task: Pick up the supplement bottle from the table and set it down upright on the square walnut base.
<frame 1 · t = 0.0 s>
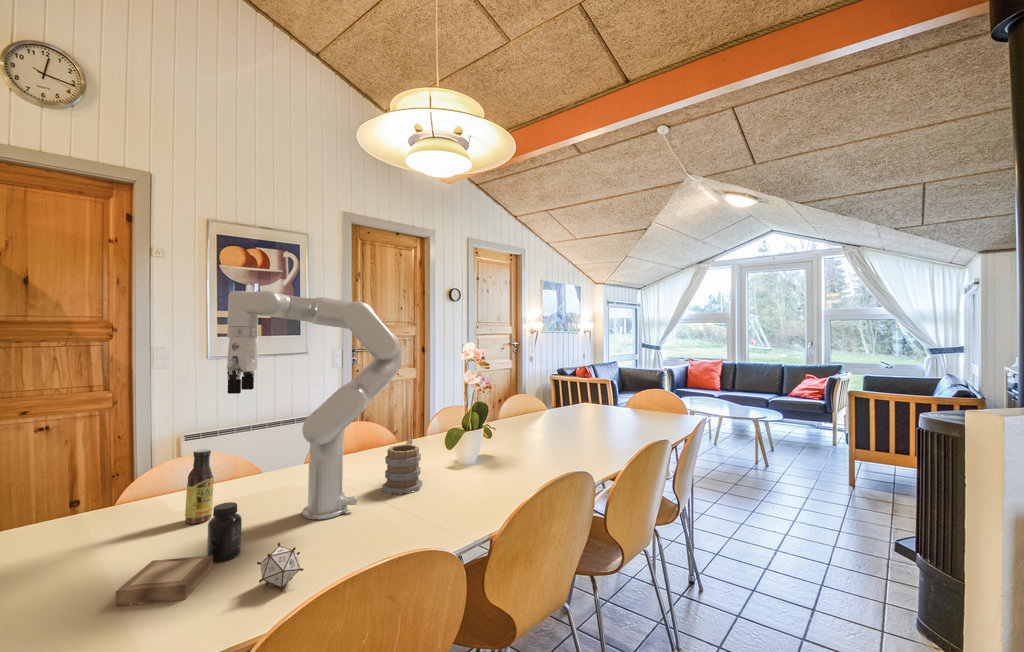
hand: (241, 391, 129), 37 cm above the table, tool pointing down, fingers open, 9 cm apart
tankard: (405, 485, 158), on the table
sauce bottle: (198, 521, 126), on the table
game die: (279, 586, 93), on the table
walnut base: (167, 586, 93), on the table
supplement bottle: (224, 556, 106), on the table
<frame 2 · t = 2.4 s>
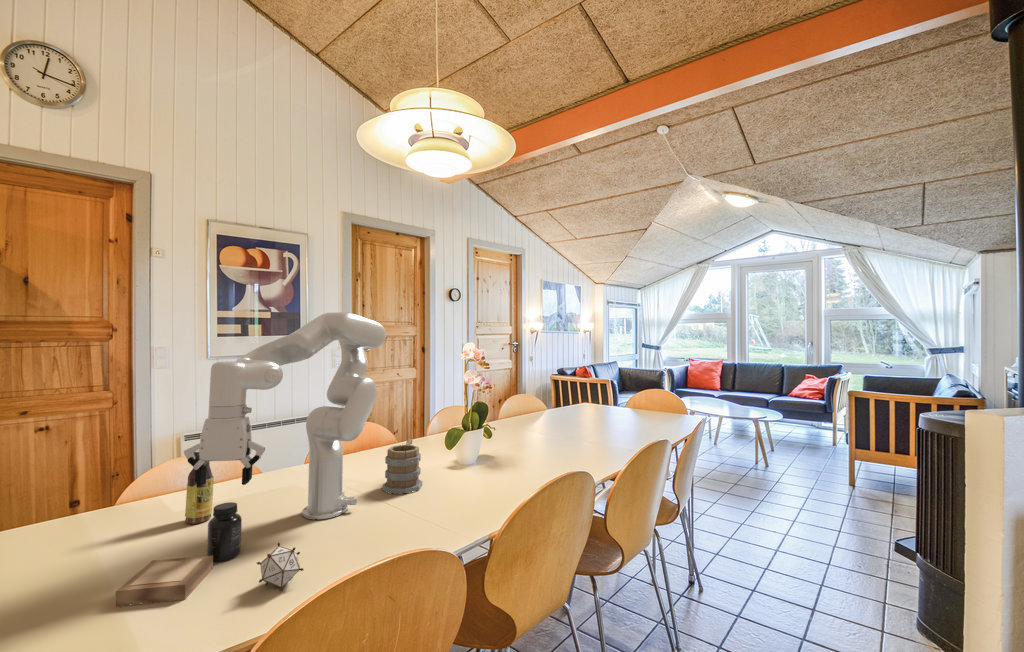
hand: (223, 484, 106), 17 cm above the table, tool pointing down, fingers open, 9 cm apart
nothing on the table moved.
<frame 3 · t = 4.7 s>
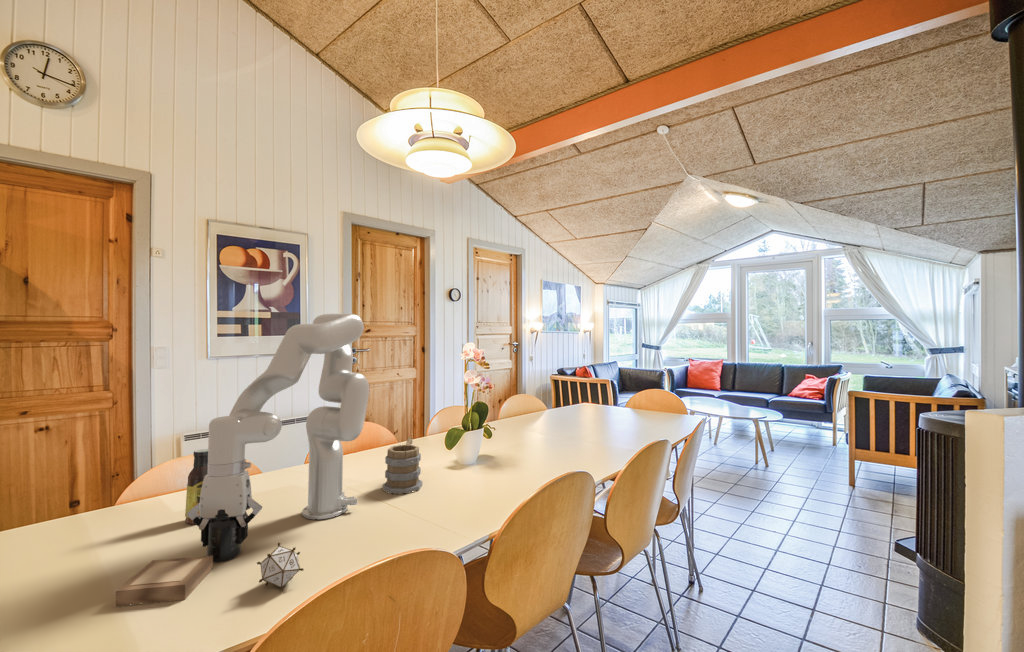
hand: (224, 542, 106), 3 cm above the table, tool pointing down, fingers closed on supplement bottle, 6 cm apart
supplement bottle: (224, 556, 106), on the table, touching gripper
everything else where it was.
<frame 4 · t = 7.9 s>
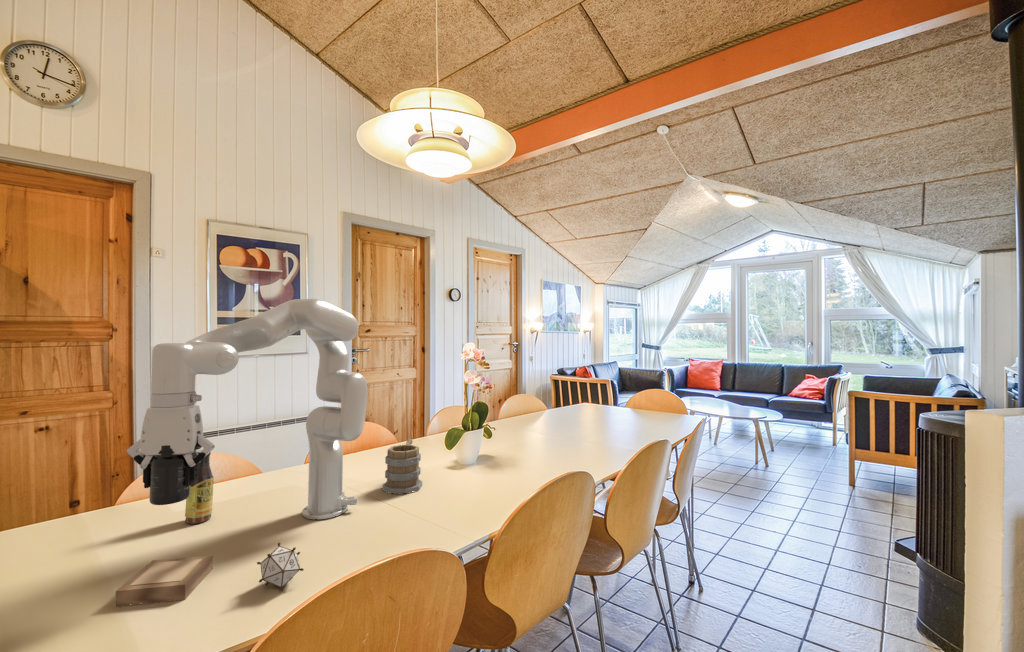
hand: (170, 484, 93), 21 cm above the table, tool pointing down, fingers closed on supplement bottle, 6 cm apart
supplement bottle: (170, 500, 93), point 18 cm above the table, touching gripper
everything else where it was.
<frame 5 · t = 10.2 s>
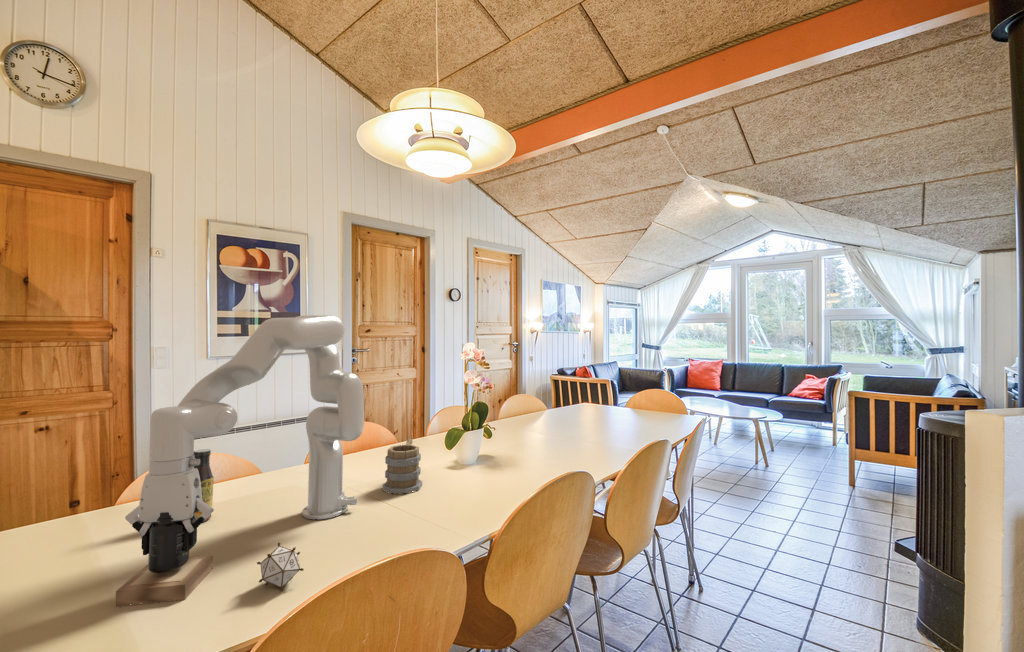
hand: (169, 549, 93), 8 cm above the table, tool pointing down, fingers closed on supplement bottle, 6 cm apart
supplement bottle: (168, 566, 93), point 4 cm above the table, touching gripper
everything else where it was.
when the fingers open (7 cm above the table, at t = 11.2 s): supplement bottle stays where it is, resting on walnut base.
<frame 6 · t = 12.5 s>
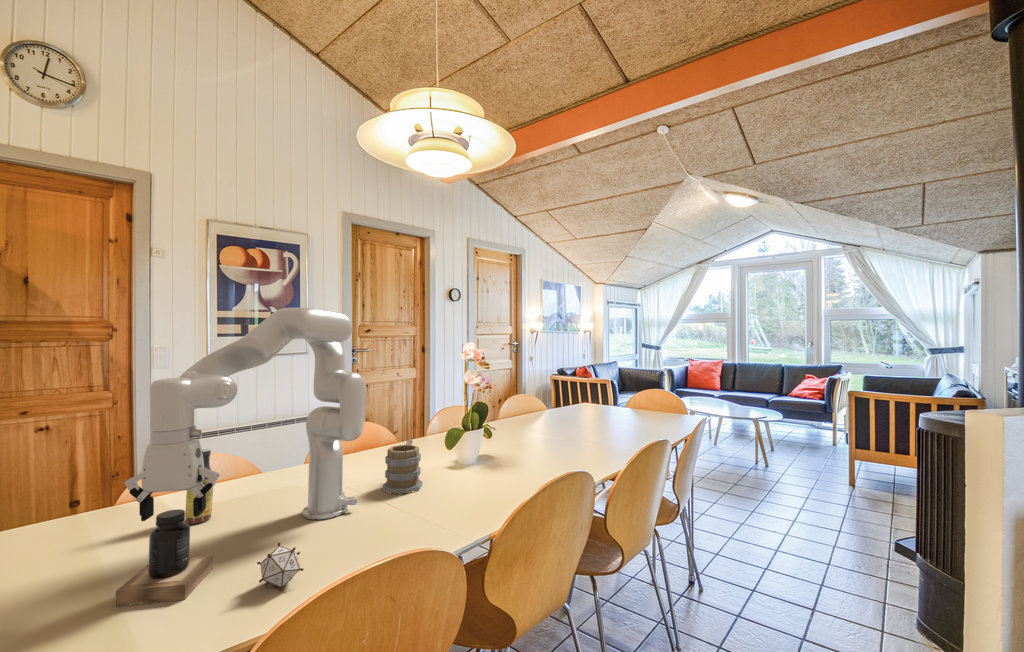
hand: (173, 516, 94), 14 cm above the table, tool pointing down, fingers open, 9 cm apart
supplement bottle: (168, 571, 93), point 3 cm above the table, touching walnut base
everything else where it was.
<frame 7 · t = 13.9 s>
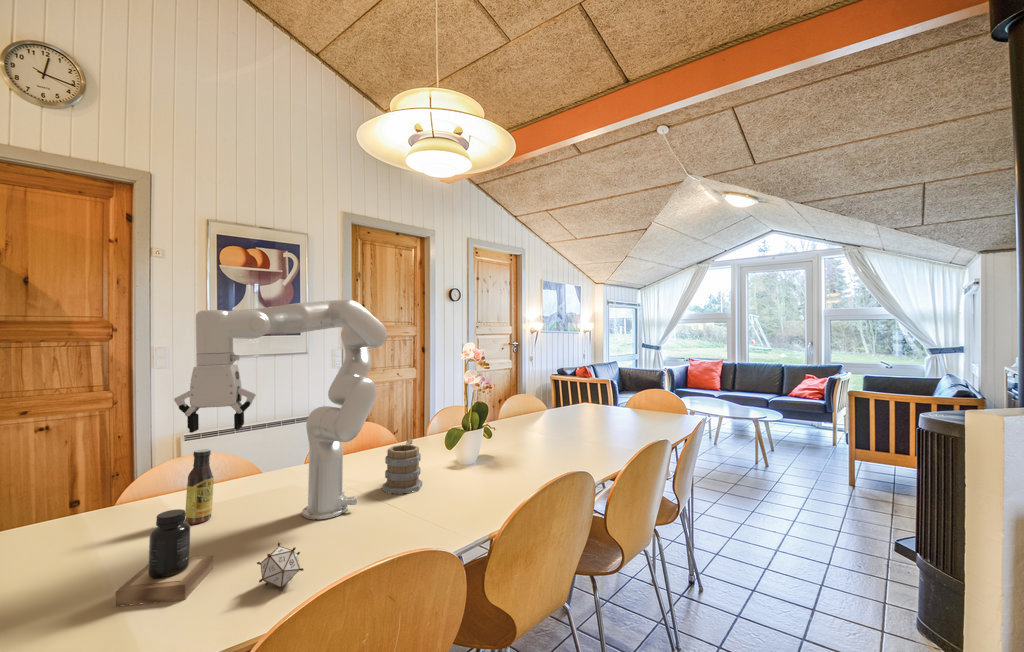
hand: (216, 429, 108), 30 cm above the table, tool pointing down, fingers open, 9 cm apart
nothing on the table moved.
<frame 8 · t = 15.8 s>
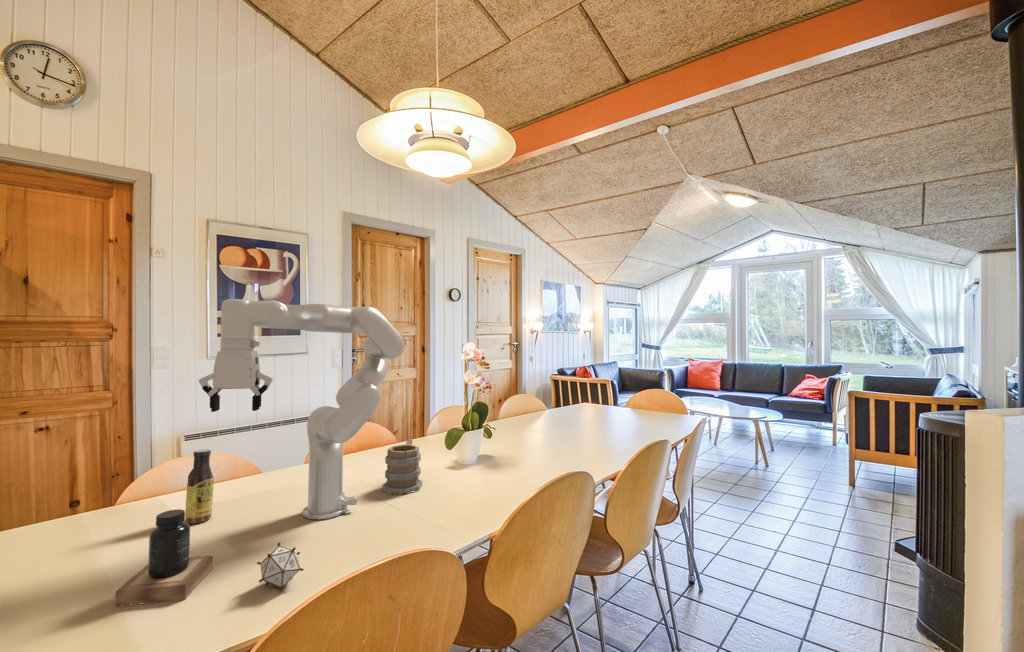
hand: (235, 410, 116), 33 cm above the table, tool pointing down, fingers open, 9 cm apart
nothing on the table moved.
at the end: supplement bottle inside the target area on the walnut base (0.1 cm from its centre), point 3.0 cm above the walnut base's base; supplement bottle tilted 0°; the gripper is holding nothing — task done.
